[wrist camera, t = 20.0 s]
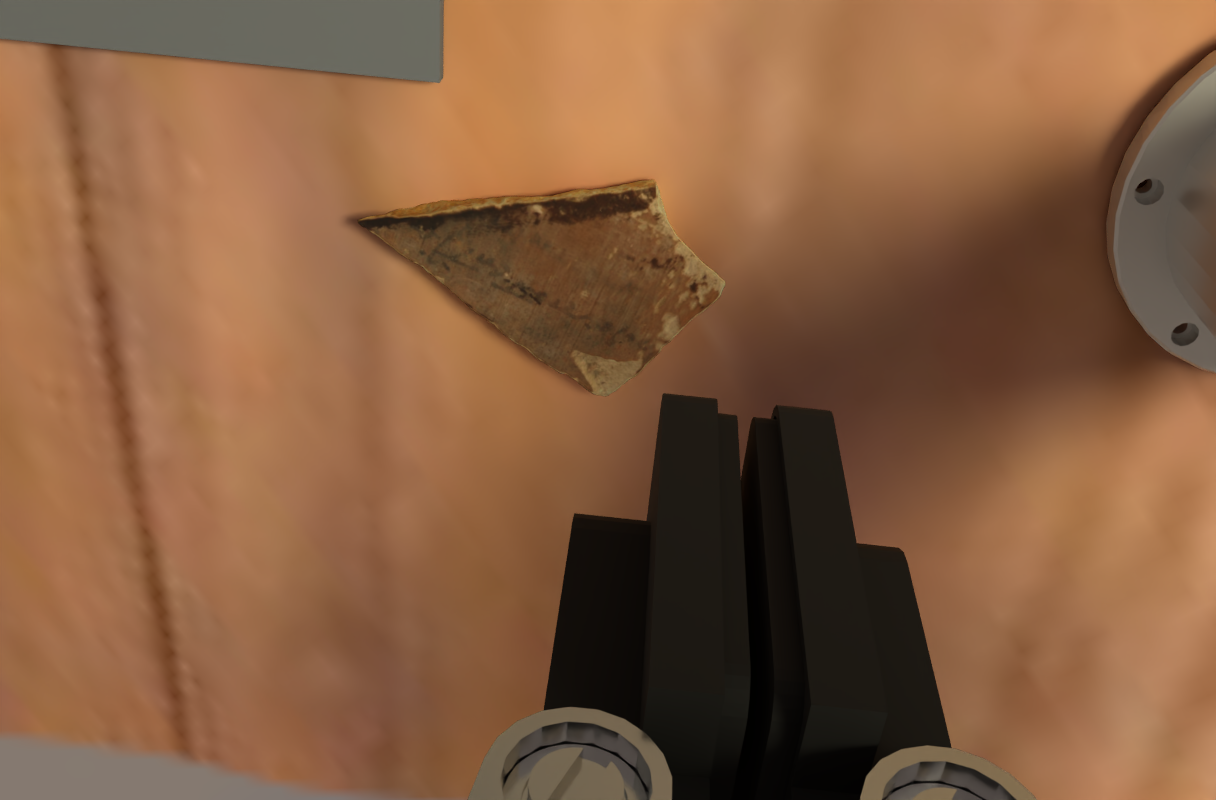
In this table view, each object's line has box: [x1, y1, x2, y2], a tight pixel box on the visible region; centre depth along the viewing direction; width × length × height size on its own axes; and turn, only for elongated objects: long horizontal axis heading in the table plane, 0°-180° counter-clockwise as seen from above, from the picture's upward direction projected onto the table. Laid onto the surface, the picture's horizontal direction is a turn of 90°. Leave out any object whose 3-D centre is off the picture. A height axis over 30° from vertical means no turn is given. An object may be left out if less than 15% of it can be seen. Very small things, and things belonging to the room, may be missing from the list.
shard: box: [358, 179, 725, 396], centre depth 39 cm, size 11×8×2 cm
